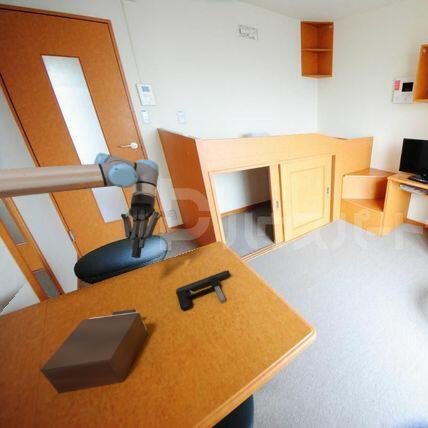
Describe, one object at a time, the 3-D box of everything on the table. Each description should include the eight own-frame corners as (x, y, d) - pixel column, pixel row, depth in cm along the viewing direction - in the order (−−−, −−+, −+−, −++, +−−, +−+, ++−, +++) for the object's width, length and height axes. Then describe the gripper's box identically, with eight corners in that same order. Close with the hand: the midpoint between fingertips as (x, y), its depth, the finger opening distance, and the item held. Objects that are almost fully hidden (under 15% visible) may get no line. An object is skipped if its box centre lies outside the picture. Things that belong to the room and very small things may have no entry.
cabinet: (95, 341, 73) (82, 319, 69) (148, 334, 76) (138, 312, 72) (58, 393, 60) (39, 369, 56) (123, 382, 63) (110, 358, 59)
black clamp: (240, 290, 91) (226, 266, 102) (182, 315, 80) (173, 286, 91) (241, 296, 92) (227, 272, 103) (184, 322, 81) (175, 292, 92)
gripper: (166, 200, 98) (160, 257, 90) (130, 202, 95) (121, 260, 87) (157, 192, 91) (150, 253, 83) (118, 194, 88) (108, 257, 80)
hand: (136, 257), depth 85 cm, fingers closed
